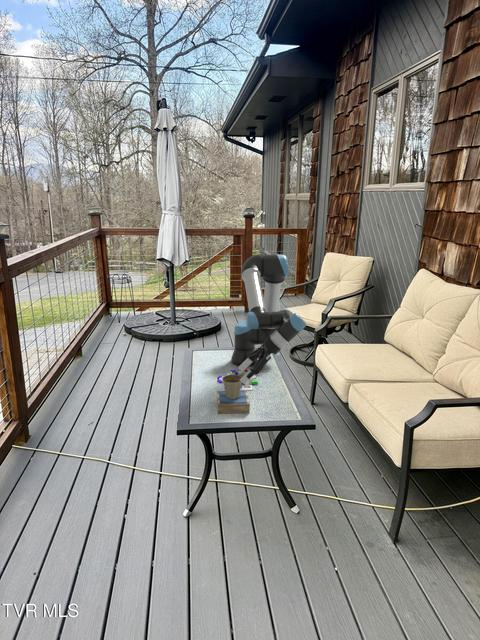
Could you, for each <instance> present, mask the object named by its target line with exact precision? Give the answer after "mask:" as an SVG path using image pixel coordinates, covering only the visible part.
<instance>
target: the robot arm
mask: <svg viewBox="0 0 480 640" xmlns="http://www.w3.org/2000/svg"><path fill="white" fill-rule="evenodd" d="M289 268H290V267H289V262H288V258H287V256H286V255H285V254H278V253H276V254H253V255H252V256H250V257H248V258H247V259H246V260H245V262H244V263H243V265H242V267H241V271H240V275H241V280H242V281H243V282H244V287H245V292H246V293H245V294H246V300H247V305H248V306H247V307H248V312H246V313H245V320H243V321H240V322H238V323H236V324H235V325H234V330H233V331H234V332H233V334H234V342H233V343H234V348H233V352H232V356H231V364H232V365H234V366H237V367H238V369H239V371H242V372H243V371H244V370H245V369H247V368H248V367H251V368H250V369H249V370H248V372H247V373H246V374H245V375H244V376H243V377H242V378H241V379H240V381H241V382H242V383H243V384H245V383H246V382H247V381H248V380H249V379H250V378H252V377H253V376H258V375H259V374H260V372H261V371H263V369H264V368H265V366H266V364H267V363H268V362H269V361H270V360H271V359H272V356H271V355H272V354H273V355H277V354H278V353H280V351H281V350H282V349H283V348H284V347H285V346H288V343H290V342H291V341H292V340H293V339H294V338H295V337H296V336H297V335H298V334H299V333H301V332H302V331H303V329H304V328H306V326H307V323H306V321H305V320H304V318H302V316H300V314H298V313H297V312H295V313H294V312H292V311H291V310H290V309H288V308H281V309H279V308H280V298H281V288H282V284H283V283H284V282H285V281H286V280H285V278H288V277H289V274H290V271H289V270H290V269H289ZM260 279H262V281H263V282H264V291H263V289H262V284H261V280H260ZM263 292H264V293H263ZM256 345H260V346H259V347H257V348H256V349H255V346H256Z"/></svg>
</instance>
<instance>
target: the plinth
mask: <svg viewBox="0 0 480 640" xmlns="http://www.w3.org/2000/svg"><path fill="white" fill-rule="evenodd" d="M248 392H249V391H247V390H242V389H241V390H240V396H239V398H236V399H229V398H227V397H226V394H225V390H217V391H216V399H217V400H216V402H217V405H216V406H217V407H216V408H217V415H247V414H250V411H251V410H250V407H251V406H250V398H249V394H248Z"/></svg>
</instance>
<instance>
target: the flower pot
mask: <svg viewBox="0 0 480 640" xmlns="http://www.w3.org/2000/svg"><path fill="white" fill-rule="evenodd" d="M223 376H224V377H223V378H222V381H223V382H222V384H223V387H224V391H225V394H226V397H227V398H229V399H236V398H239V396H240V390H242V384H241V383H242V382H241V381H240V379H241V378H242V376H241V375H227V374H226V375H223Z"/></svg>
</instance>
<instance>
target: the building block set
mask: <svg viewBox="0 0 480 640" xmlns="http://www.w3.org/2000/svg"><path fill="white" fill-rule="evenodd" d="M248 371H249V370H248V369H247V368H246V369H245V370H244V371H243V372H242V371H241V370H239V371H238V370H237V371H236V369H231V370H230V373H228V372H227V373H226V375H239V376H242V377H243V376H244V375H245V374H246V373H247V372H248ZM224 376H225V375H219V376H217V381H216V382H217V383H218V384H223V381H222V378H223V377H224ZM256 378H257V375H254V376H253V377H252V378H250V379H249V380H248V381H247V382H246V383H245V384H243V383H241V390H247V392H249V391H250V392H252V391H253V385H254V386H258V385H259V384H258V382H259V380H257V379H256Z"/></svg>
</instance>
